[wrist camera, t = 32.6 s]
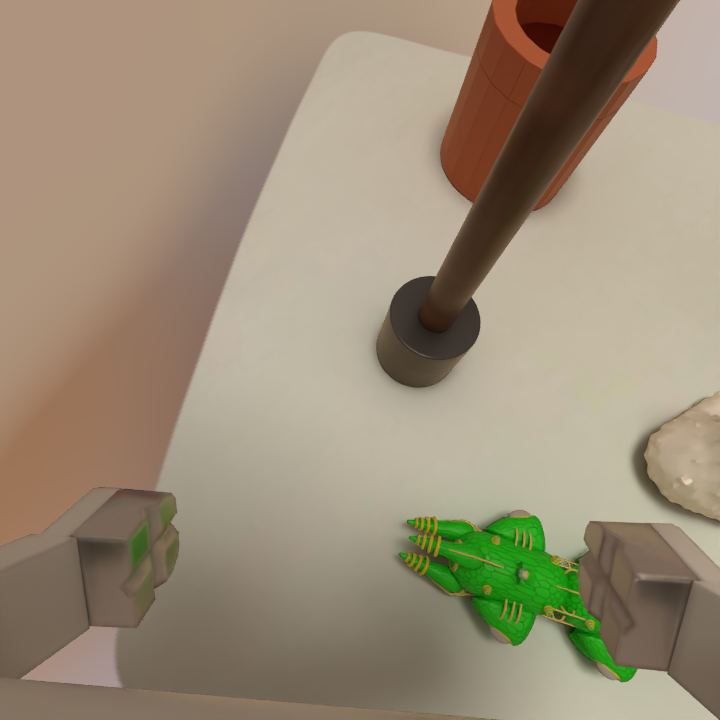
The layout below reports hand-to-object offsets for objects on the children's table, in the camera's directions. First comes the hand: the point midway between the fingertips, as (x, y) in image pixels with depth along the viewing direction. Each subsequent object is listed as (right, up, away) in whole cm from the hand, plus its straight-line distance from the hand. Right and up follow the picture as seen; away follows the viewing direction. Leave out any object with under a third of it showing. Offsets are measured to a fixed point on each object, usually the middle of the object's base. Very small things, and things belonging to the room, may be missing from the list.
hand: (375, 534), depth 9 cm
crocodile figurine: (+10, -9, +17) cm, 22 cm away
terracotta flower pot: (+11, +19, +28) cm, 36 cm away
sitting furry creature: (+21, -4, +21) cm, 30 cm away
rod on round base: (+3, +4, +22) cm, 22 cm away
